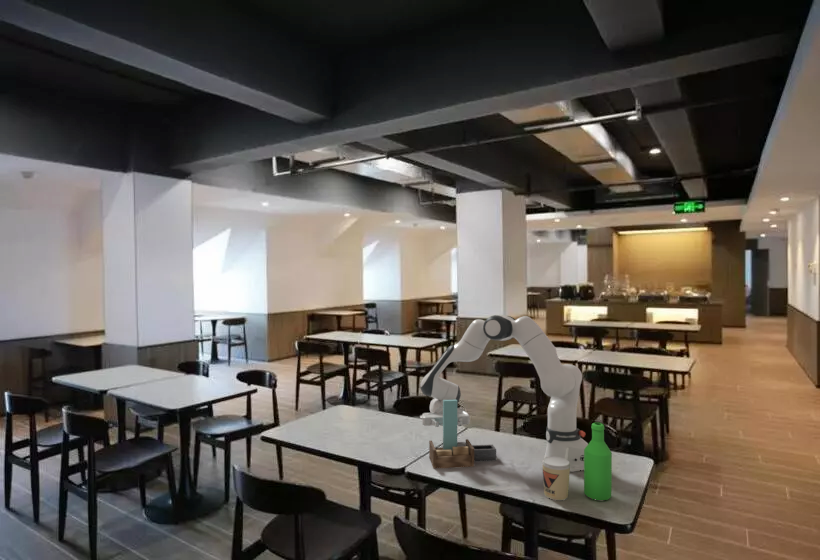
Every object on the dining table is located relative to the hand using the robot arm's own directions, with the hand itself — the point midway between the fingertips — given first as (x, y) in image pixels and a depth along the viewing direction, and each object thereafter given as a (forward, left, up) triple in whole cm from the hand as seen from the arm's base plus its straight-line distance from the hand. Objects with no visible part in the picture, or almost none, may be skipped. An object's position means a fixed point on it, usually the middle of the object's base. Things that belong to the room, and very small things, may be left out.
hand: (448, 424), depth 201 cm
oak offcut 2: (-3, +9, -13) cm, 16 cm away
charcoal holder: (-13, +4, -15) cm, 20 cm away
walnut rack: (0, +7, -15) cm, 16 cm away
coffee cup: (-31, +36, -15) cm, 50 cm away
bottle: (-45, +38, -15) cm, 61 cm away
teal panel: (0, +4, -13) cm, 14 cm away
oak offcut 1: (+3, +9, -13) cm, 16 cm away
